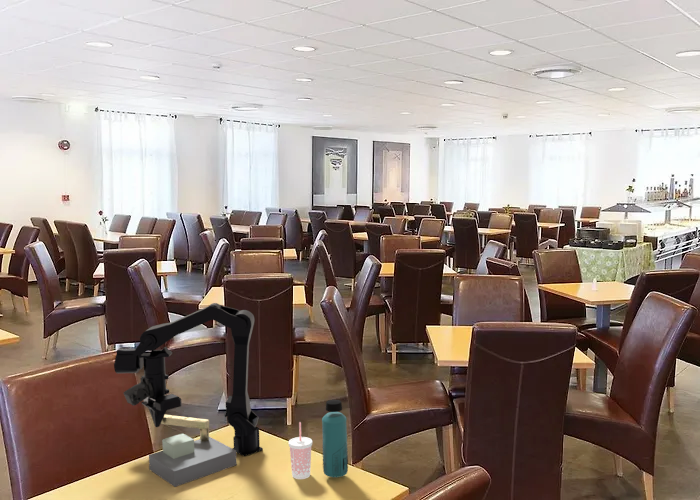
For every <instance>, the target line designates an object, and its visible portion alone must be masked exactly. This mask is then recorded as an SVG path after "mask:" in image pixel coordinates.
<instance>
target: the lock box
mask: <svg viewBox="0 0 700 500" xmlns="http://www.w3.org/2000/svg"><path fill="white" fill-rule="evenodd" d="M232 448H233V447H230V446H228V445H226V444H225V443H223V442H220V441H219V440H217V439H215V438H213V437H211V436H209V440H208V441H200V438H199V439H195V440H194V452H193V453H190V454H187V455H184V456H181V457H178V458H175V459H173V458H171V457H170V456H168V455H167V454H165V453H163V450H160V451H157V452H154V453H151V454H148V470H149V471H151V472H152V473H154V474H155V475H157V476H158V477H159V478H160V479H162V480H164V481H166V482H167V483H168V484H170V485H171V486H172V487H178V486H182V485H184V484H187V483H190V482H193V481H195V480H198V479H201V478H205V477H207V476H209V475H213V474H216V473H218V472H221V471H223V470H227V469H229V468H232V467H235V466H237V453H236V450H234V449H232Z"/></svg>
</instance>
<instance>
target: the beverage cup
mask: <svg viewBox="0 0 700 500" xmlns="http://www.w3.org/2000/svg"><path fill="white" fill-rule="evenodd" d="M298 429H299V431H298V434H299V436H297V437H293V438H290V439H289V440H288V447H289V452H290V453H289V454H290V463H291V476H292V478H294V479H296V480H305V479H308V478H309V477H310V476H311V465H312V464H311V463H312V461H311V460H312V446H313V440H312V438H310V437H306V436H302V422H301V421H299V422H298Z"/></svg>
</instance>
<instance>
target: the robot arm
mask: <svg viewBox="0 0 700 500" xmlns="http://www.w3.org/2000/svg"><path fill="white" fill-rule="evenodd" d="M210 321H215V322H216V323H219V324H221V326H224V327H226V328H229V329H230V331H231V338H232V341H233V343H234V345H233V346H234V352H233V353H234V355H233V357H234V358H233V380H232V394H231V395H228V397H227V399H226V401H225V409H226V410H225V414H224V417H225V418H227V423H228V424H229V425H230V427H232V428H233V430H234V436H232V437H233V447H231V448H232V449H234V450H236V454H239V455H240V456H242V457H247V456H251V455H253V454H256V453H259V452H261V451H263V450H264V448H263V447H262V446H261V445H260V443H261V442H260V427H259V426H257V424H258V421H259V418H260V417H259V416H258V415H257V414H256V413H255V412H254V411H253V410H252V406H251V400H250V396H249V393H248V381H249V380H248V379H249V355H250V351H249V350H250V341H251V337H252V333H253V329H254V326H255V316H254V314H253V313H252V312H251V311H249V310H246V309H242V310H239V309H237V308H234V307H229V306H225V305H222V304H219V303H217V302H213V303H211V304H210V305H208V306H206V307H203V308H201V309H199V310H196V311H195V312H192V313H190V314H188V315H185V316H183V317H181V318H179V319H177V320H175V321H171V322H167V323H165V322H164V323H161V324H157V325H153V326H150V327H149V328H148V329H145V331H144V332H142V333H141V335H140V337H139V344H138V345H137V346H136V347H135V348H123V347H122V348H118V349H117V350H116V355H115V358H114V363H113V368H114V372H115V373H116V374H137V373H139V372H140V370H142V369H143V375H142V376H141V377H140V382H139V383H137V384H135V385H133V386H131V387H130V388H128V389H126V390H124V391H123V395H124V398H125V400H126V403H127V404H130V405H132V406H137V405H138V404H140V403H141V405H143V406H144V407H145V408H147V409H148V411H149V414H150V416H151V419H152V421H153V422H154V423H153V424H154V426H155V427H154V428H159V427H161V425H162V424H161V422H162V419H163V417H164V415H166V412H167V411H169V410H172V409H175V408H181V407H182V405H183V404H182V398H181V397H180V396H178V395H175V394H173V393H171V394H170V389H168V388H167V380H168V379H170V377H169V374H166V358H169V357H170V356H171V355H172V354H173V351H171V350H170V349H168V347H167V346H165V347H163V348H162V349H158V348H160V347H161V346H163V345H164V344H166V343H168V342H169V341H170V340H171V339H173V338H174V337H176V336H178V335H181V334H183V333H185V332H187V331H189V330H192V329H194V328H197V327H198V326H201V325H203V324H205V323H209V322H210ZM147 351H148V352H147ZM146 352H147V353H146Z"/></svg>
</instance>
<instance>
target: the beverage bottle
mask: <svg viewBox="0 0 700 500" xmlns="http://www.w3.org/2000/svg"><path fill="white" fill-rule="evenodd" d="M342 405H343V404H342V401H341V400H339V399H329V400H327V401H326V402H325V411H327V413H326V414H324V416H323V417H322V419H321V425H322V426H321V427H322V430H321V431H322V447H321V448H322V456H321V457H322V470H323V474H324V475H325V476H327V477H329V478H341V477H344V476H346V475H347V474H348V470H349V458H348V431H347V429H348V427H347V417H346V415H345V414H343V413H342V412H341V411H342V410H343V406H342Z"/></svg>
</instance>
